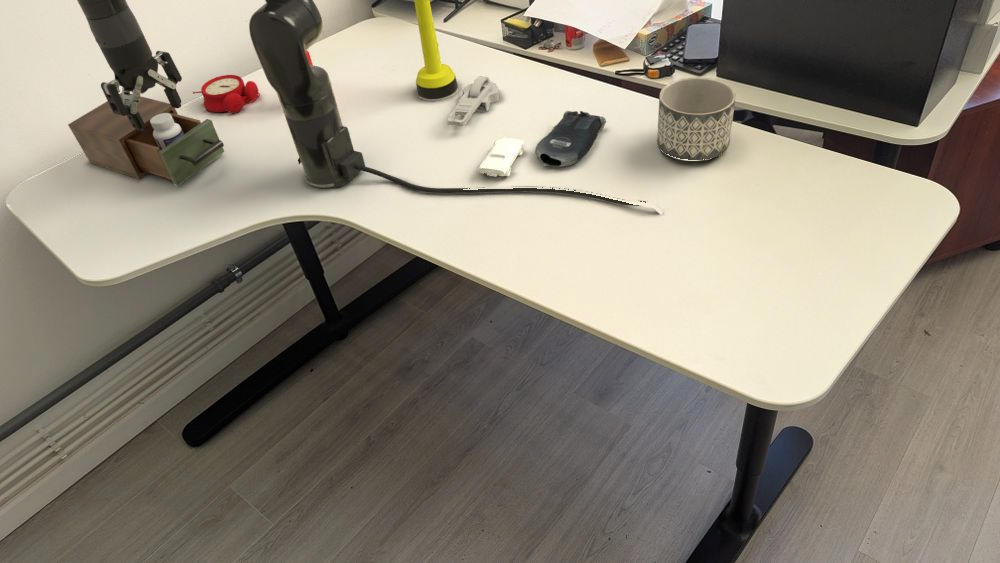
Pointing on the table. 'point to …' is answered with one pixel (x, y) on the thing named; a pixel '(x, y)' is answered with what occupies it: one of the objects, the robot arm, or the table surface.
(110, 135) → the cabinet
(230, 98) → the alarm clock
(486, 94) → the zipper pull
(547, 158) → the electronic device
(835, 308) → the table surface
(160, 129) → the pill bottle
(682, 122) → the planter
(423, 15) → the flashlight
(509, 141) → the toy car
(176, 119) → the drawer
